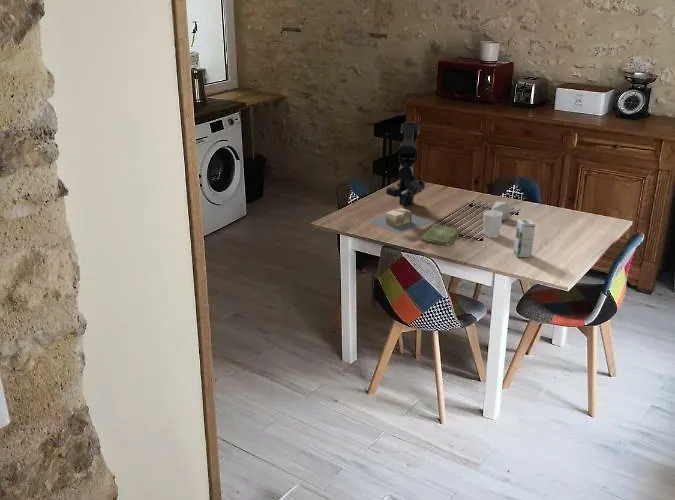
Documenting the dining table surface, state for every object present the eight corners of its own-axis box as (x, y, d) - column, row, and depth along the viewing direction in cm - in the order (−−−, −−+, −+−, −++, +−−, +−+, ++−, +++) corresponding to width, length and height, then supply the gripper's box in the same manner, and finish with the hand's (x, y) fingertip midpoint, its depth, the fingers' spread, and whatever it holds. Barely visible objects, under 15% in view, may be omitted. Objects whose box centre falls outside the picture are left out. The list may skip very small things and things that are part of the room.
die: (511, 218, 324) (503, 199, 325) (514, 215, 315) (506, 196, 316) (494, 225, 324) (486, 206, 325) (497, 222, 315) (489, 202, 317)
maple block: (402, 207, 316) (386, 212, 310) (411, 211, 312) (395, 216, 306) (401, 218, 318) (385, 223, 312) (411, 221, 314) (395, 226, 308)
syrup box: (512, 252, 286) (516, 219, 280) (527, 252, 286) (531, 218, 280) (517, 258, 280) (521, 224, 275) (531, 257, 281) (536, 223, 275)
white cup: (501, 232, 306) (503, 211, 302) (499, 239, 299) (501, 217, 295) (483, 230, 308) (485, 209, 304) (480, 236, 301) (482, 215, 297)
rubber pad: (402, 212, 328) (402, 210, 328) (433, 224, 314) (434, 222, 314) (367, 223, 315) (367, 221, 315) (399, 236, 301) (399, 233, 301)
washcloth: (419, 242, 296) (419, 235, 295) (432, 229, 311) (433, 222, 309) (449, 248, 291) (449, 240, 289) (461, 234, 305) (462, 227, 304)
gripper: (404, 181, 296) (402, 216, 302) (434, 173, 307) (432, 207, 313) (385, 175, 303) (384, 209, 310) (416, 167, 314) (414, 200, 321)
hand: (404, 206), depth 313 cm, fingers closed
